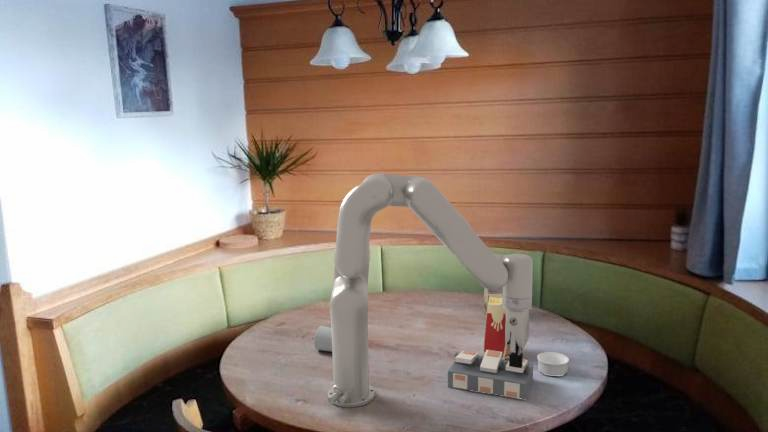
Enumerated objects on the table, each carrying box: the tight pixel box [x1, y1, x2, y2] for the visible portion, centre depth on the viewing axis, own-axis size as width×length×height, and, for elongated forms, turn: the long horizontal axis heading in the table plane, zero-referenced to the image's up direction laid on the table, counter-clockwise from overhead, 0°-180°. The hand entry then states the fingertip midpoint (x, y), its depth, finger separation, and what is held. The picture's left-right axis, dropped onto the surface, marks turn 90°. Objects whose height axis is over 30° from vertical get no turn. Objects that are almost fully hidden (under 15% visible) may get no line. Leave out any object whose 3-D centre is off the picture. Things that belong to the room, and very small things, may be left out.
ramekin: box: [536, 351, 570, 375], centre depth 167 cm, size 9×9×4 cm
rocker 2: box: [506, 358, 528, 373], centre depth 157 cm, size 8×4×1 cm, turn 157°
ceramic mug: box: [313, 325, 332, 353], centre depth 185 cm, size 11×8×8 cm
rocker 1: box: [454, 350, 479, 364], centre depth 162 cm, size 8×4×1 cm, turn 157°
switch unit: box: [447, 352, 534, 399], centre depth 160 cm, size 13×21×7 cm, turn 67°
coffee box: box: [483, 287, 503, 317], centre depth 212 cm, size 9×6×16 cm
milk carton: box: [482, 294, 510, 360], centre depth 179 cm, size 9×9×20 cm
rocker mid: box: [480, 350, 502, 373], centre depth 159 cm, size 8×4×1 cm, turn 156°
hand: (515, 366), depth 154 cm, fingers closed
